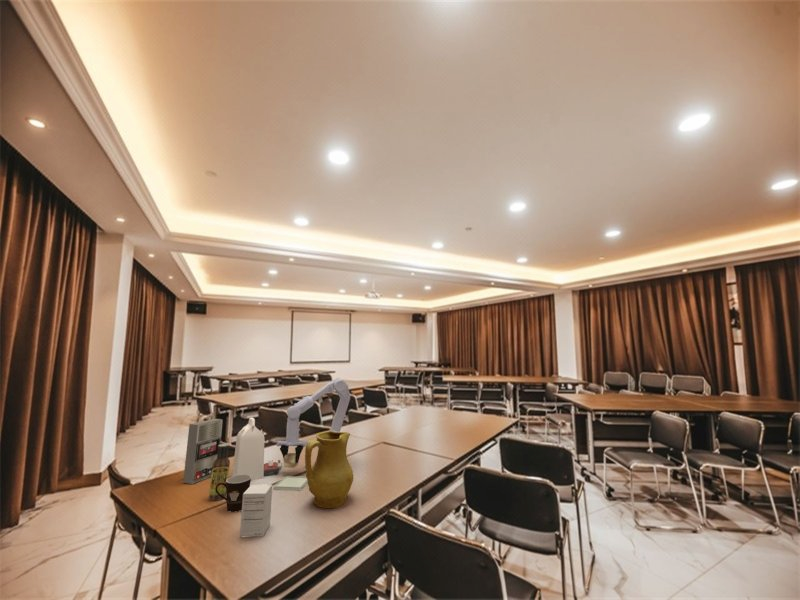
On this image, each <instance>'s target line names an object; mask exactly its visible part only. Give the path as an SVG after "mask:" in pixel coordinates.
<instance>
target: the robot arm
mask: <svg viewBox="0 0 800 600" xmlns="http://www.w3.org/2000/svg"><path fill="white" fill-rule="evenodd" d="M334 392H336V393H337V394H338V397H339V401H338V404H337V407H336V411H335V413H334V414H335V415H334V417H333V419H332V423H331V426H330V429H329V431H333V432H341V430H342V426H343V423H344V420H345V416H346V413H347V410H348V406H349V403H350V400H351V394H350V389H349V384H348V383H347V382H346V381H345V380H344V379H341V378H340V377H339V378H338V377H337V378H335V379H333V380H332V381H329V382H328V383H326V384H325V385H323V386H322V387H321V388H320V389H319V390H317V391H316V392H314V393H313V394H311V395H310V396H309V395H306V396H303V397H302V398H301V399H300V400H299V401H298V402H297V403H296V402H295V403H294V404H293V405H292V406H290V407H288V409H287V412H286V414H287V416H288V417H287V418H286V419H287V422H286V437H285V438H286V439H285V440H278V441H276V447H279V450H280V452H281V455H282V457H283V458H282V459H283V460H284V456H285V455H287V454H288V453H289V449H290V447H295V448H294V451H295V452H294V453H296V459H295V462H296V463H297V462H298V463H299V461H300V457H301V454H302V452H303V449H304V448H306V445H307V443H308V442H309V440H308V441H307V440H306V441H305V440H299V438H300V437H299V436H300V416H301V414H303V413H305V412H306V411H307V410H309V409H310V408H312V407H313V406H314V403H315V402H316V401H317V400H318V399H320V398H322V397H324V395H326V394H327V393H334Z"/></svg>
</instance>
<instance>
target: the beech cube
mask: <svg viewBox="0 0 800 600" xmlns="http://www.w3.org/2000/svg"><path fill="white" fill-rule="evenodd" d="M295 459H296V452H288V454H287V455H285V456H284V459H283V468H285V469H286V468H288V469H289V468H291V469H294V468H296V467H297V466H298V465H299V462H297V463H296V462H295Z"/></svg>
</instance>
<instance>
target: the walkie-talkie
mask: <svg viewBox="0 0 800 600" xmlns="http://www.w3.org/2000/svg"><path fill="white" fill-rule="evenodd" d="M282 467H283V462H281V460H280V459H278V460H277V462H275V461H274V460H273V459H272V460H268V462H266V463H265V462H264V477H269V476H270V477H271V476H277V475H278V474H279V472H280V471H281V470H282Z"/></svg>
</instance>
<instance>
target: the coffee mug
mask: <svg viewBox="0 0 800 600" xmlns="http://www.w3.org/2000/svg"><path fill="white" fill-rule="evenodd" d="M251 482H252V480H251V476H250V475H237V476H230V477H228V479H227V480H226V484H225V483H220V484H218V485H217V486H216V488H215V491H216V493H217V494H218V495H219V496H220V497H222V498H223V499H222V500H225V501H226V511H227V512H228V511H231V512H230V513H235V511H237V512H240V511H242V501H243V493H244V492H245V491H246V490H247V489H248V488H249V487H250V486H251ZM219 485H224V486H225V487H226V496H225V497H224V496H222V495H221V494H219V492H218V491H217V487H218V486H219ZM239 510H240V511H239Z"/></svg>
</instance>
